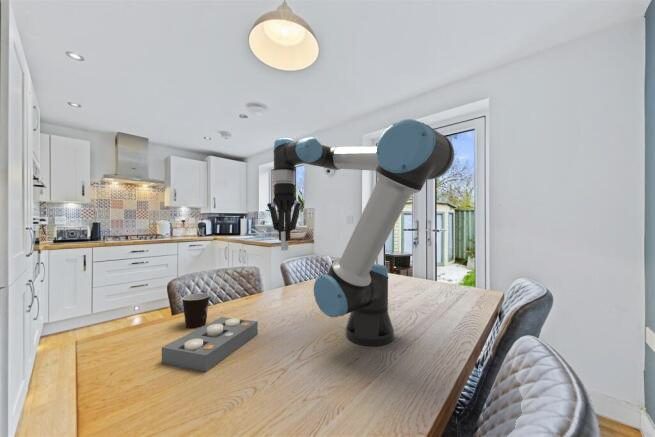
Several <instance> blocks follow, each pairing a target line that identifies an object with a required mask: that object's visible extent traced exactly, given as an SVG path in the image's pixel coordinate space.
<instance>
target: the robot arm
mask: <svg viewBox="0 0 655 437" xmlns="http://www.w3.org/2000/svg"><path fill="white" fill-rule="evenodd" d="M273 145H274V146H273V151H272V153H273V183H274V184H273V195H274V196H273V199H272V201H271V202H270V203H269V202H268V203H267V205H266V206H267V208H268V210H269V213H270V217H271V221H272V222H271V223H272V227H273V230H275V231H277V232H278V241H279V242H280V251H283V252H284V251H289V241H291V232H292V231H294V230H296V228H297V223H298V218H299V215H300V211H301V209H302V208H303V203H302V202H299V201H298V200H297V198H296V185H295V183H296V166H297V165H301V164H306V165H310V166H314V167H315V166H316V167H320V168H325V169H329V170H335V171H338V170H339V171H340V170H353V171H355V170H356V171H374V172H375V174H376V177H377V181H376V184H375V185H374V187H373V190H372V191H371V194H370V195H369V197H368V199H367V202H366V205H365V207H364V209H363V211H362V212H361V215H360V216H359V219H358V221H357V224H356V226H355V228H354V230H353V232H352V234H351V236H350V238H349V240H348V242H347V245H346V246H345V249H344V250H343V252H342V255H341V257H340V258H335V259H334V260H333V261H332V263H331V265H330V268H329V269H328V271H327V273H324V274H321V275H319V276H317V278H316V279H315V281H314V284H313V296H314V299H315V302H316V305H317V307H318V309H319V310H320V311H321V312H322V313H323V314H324V315H325V316H327V317H330V318H338V317H343V316H344V317H345V316H346V315H348V314H349V317H348V319H347V322H346V327H345V335H346V336H345V337H346V338H347V339H348V340H349V341H351V342H353V343H355V344H359V345H363V346H370V347H373V346H374V347H375V346H376V347H377V346H384V345H388V344H390V343H391V342H392V341H394V338H395V337H394V336H395V335H394V332H395V331H394V327H393V324H392V320H391V318H390V314H389V274H388V268H387V266H386V265H383V264H378V263H376V261H377V259H378V257H379V255H380V253H381V252H382V249H383V247H384V246H385V244H386V242H387V240H388V238H389V236H390V235H391V233H392V231H393V229H394V228H395V225H396V224H397V221H398V219H399V218H400V216H401V214H402V212H403V210H404V208H405V207H406V205H407V203H408V201H409V199H410V197H411V196H412V195H413V194H416V193H419V192H421V191H422V189H423V187H424V186H425V183H426V182H427V180H428V181H429V180H436V179H438V178H441V177H442V176H443V175H445V174H446V173H447V172H448V171H449V169H450V168H451V167H452V165H453V162H454V159H455V149H454V146H453V143H452V142H451V140H450V139H449V138H448V137H447V136H445V135H444V134H442V133H440V132H439V131H437V130H436V129H435V128H432V126H430V125H429V124H426V123H424V122H421V121H418V120H416V119H409V118H408V119H406V118H405V119H402V120H398V121H397V122H395V123H392V124H391V125H390V126H388V127H387V128H386V129H385V130H384V131H383V132H382V134H381V135H380V137H379V139H378V141H377V144H376V145H367V146H366V145H365V146H363V145H362V146H335V147H334V146H328V145H327V146H326V145H324V144H322V143H321V142H320V141H319V140H318V139H317V138H316V137H310V136H309V137H304V138H302V139H299V140H296V141H295V140H294V139H292V138H288V137H287V138H286V137H282V138H276V139H275V141H274V142H273ZM293 207H294V208H293ZM276 208H277V209H276ZM292 208H293V211H292Z"/></svg>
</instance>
